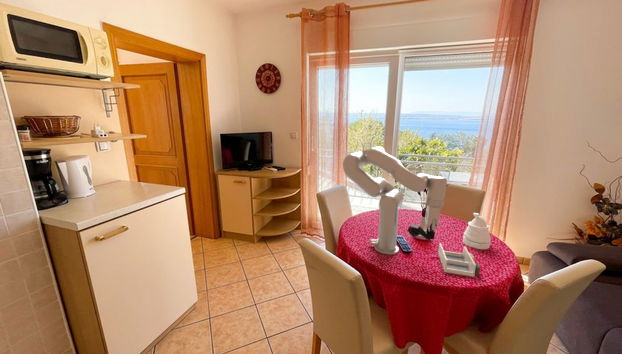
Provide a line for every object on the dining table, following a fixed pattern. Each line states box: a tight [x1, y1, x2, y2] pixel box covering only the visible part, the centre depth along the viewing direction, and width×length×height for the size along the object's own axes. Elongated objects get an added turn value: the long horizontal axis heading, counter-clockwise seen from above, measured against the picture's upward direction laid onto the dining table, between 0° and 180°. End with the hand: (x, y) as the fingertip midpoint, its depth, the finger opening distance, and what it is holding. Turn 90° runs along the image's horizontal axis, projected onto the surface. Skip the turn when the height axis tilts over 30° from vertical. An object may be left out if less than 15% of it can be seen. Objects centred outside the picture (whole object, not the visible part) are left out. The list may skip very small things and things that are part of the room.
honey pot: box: [462, 212, 492, 250], centre depth 139 cm, size 13×13×18 cm
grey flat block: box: [474, 261, 481, 277], centre depth 114 cm, size 1×5×4 cm, turn 162°
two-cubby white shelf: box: [437, 242, 476, 278], centre depth 120 cm, size 12×18×6 cm, turn 162°
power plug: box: [407, 223, 434, 244], centre depth 125 cm, size 6×8×12 cm
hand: (429, 237), depth 122 cm, fingers closed on power plug, 2 cm apart
